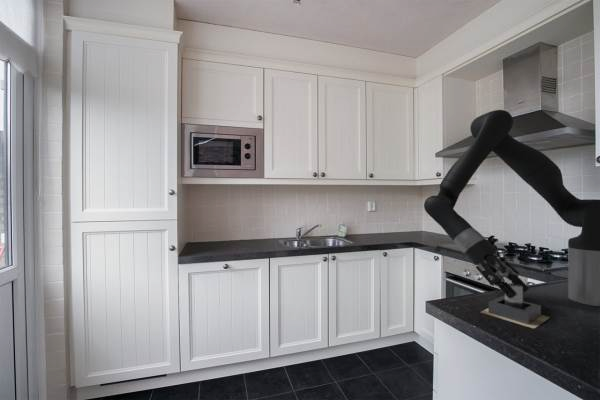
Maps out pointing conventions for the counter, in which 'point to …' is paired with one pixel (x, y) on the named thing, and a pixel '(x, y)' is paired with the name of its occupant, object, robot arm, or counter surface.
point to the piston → (515, 297)
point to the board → (532, 325)
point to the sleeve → (515, 311)
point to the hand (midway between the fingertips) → (520, 293)
